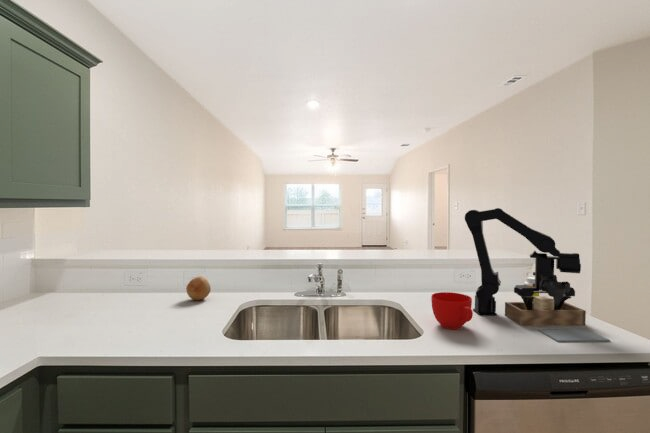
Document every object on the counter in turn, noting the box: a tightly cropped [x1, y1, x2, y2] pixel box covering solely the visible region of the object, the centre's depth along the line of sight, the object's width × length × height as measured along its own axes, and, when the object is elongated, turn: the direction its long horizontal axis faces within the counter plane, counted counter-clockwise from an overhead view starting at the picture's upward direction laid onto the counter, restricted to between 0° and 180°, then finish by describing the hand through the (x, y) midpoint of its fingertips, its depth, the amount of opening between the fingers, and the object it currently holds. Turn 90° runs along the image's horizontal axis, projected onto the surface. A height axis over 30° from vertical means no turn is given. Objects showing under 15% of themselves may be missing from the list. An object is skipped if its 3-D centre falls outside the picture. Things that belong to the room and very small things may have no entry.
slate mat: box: [537, 327, 611, 343], centre depth 115 cm, size 16×10×1 cm, turn 91°
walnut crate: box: [504, 301, 587, 327], centre depth 129 cm, size 22×11×5 cm, turn 91°
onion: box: [185, 275, 211, 302], centre depth 157 cm, size 10×10×10 cm
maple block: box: [534, 295, 554, 310], centre depth 129 cm, size 4×4×8 cm
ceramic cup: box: [430, 291, 473, 330], centre depth 122 cm, size 13×17×10 cm
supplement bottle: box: [523, 276, 540, 302], centre depth 152 cm, size 6×6×10 cm
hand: (543, 314), depth 129 cm, fingers open, 9 cm apart
